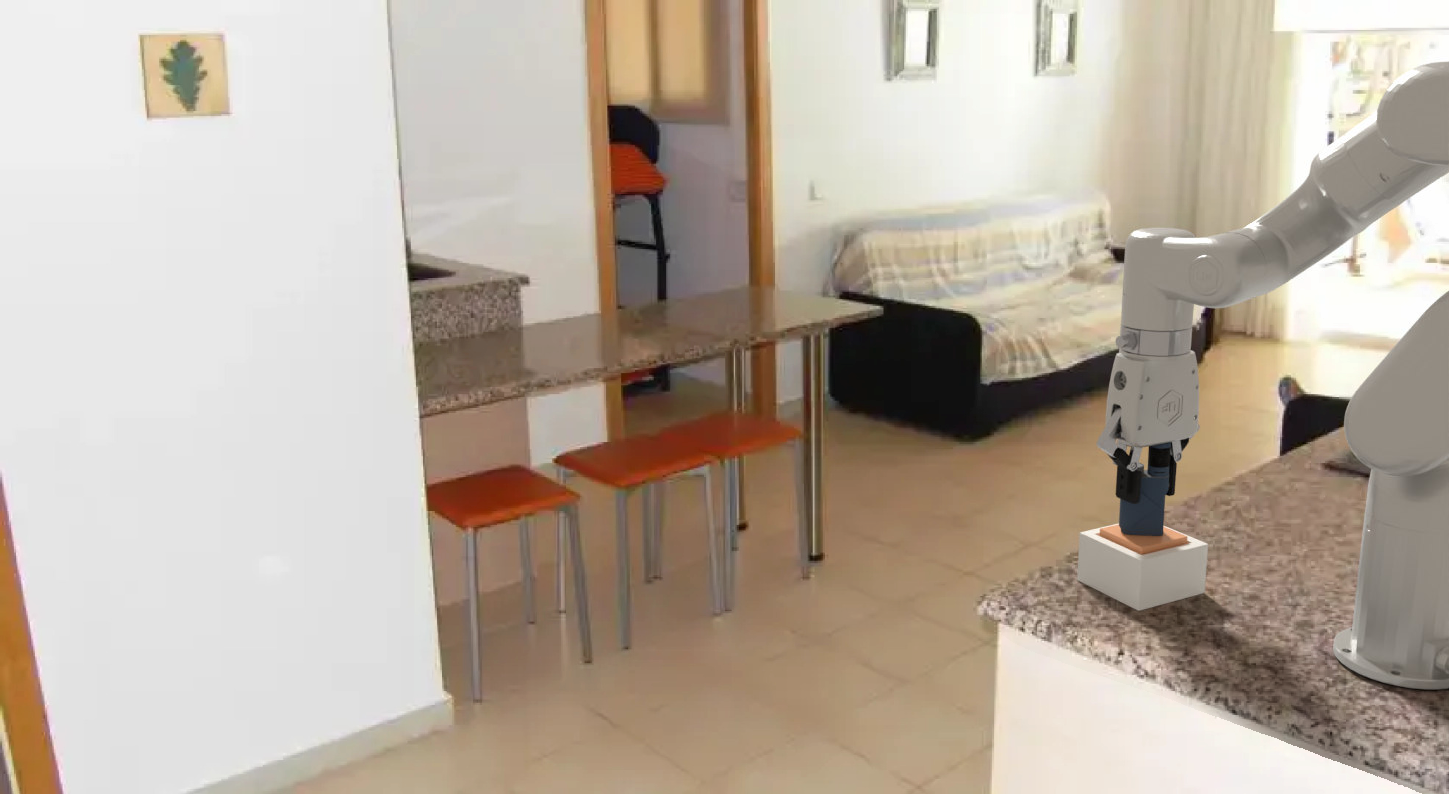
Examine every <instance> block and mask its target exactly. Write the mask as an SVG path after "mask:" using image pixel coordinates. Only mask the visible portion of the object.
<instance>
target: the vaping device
mask: <svg viewBox="0 0 1449 794" xmlns="http://www.w3.org/2000/svg"><path fill="white" fill-rule="evenodd" d="M1170 448H1171V442H1168V443H1163V444H1158V445H1153V446H1148V450H1147V451H1148V453H1147V456H1148V457H1147V469H1145V464H1144V463H1142V462H1139V463H1138V467H1137V469H1138V470H1141V489H1140V501H1139V503H1137V504H1132V503H1129V502H1127V501H1125V500H1122V499H1120V498H1119V515H1118V523H1119V526H1120V528H1121V532H1122V533H1124V534H1127V535H1146V536H1161V535H1163V533H1164V531H1163V526H1165V525H1164V521H1165V509H1166V507H1165V504H1166V496H1167V495H1166V493H1167V492H1168V488H1169V475H1170V474H1169V465H1170Z"/></svg>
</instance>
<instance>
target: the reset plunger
mask: <svg viewBox="0 0 1449 794" xmlns="http://www.w3.org/2000/svg"><path fill="white" fill-rule="evenodd" d="M1117 524H1118V523H1117ZM1113 525H1114V524H1113ZM1109 526H1110V525H1109ZM1104 527H1105V528H1101V527H1100V528H1101V529H1100V537H1103V538H1105V539H1107V540H1109V541H1111V542H1114V543H1116V544H1118V545H1120V546H1123V547H1125V548H1127V549H1129V550H1131V551H1134V552H1136V553H1138V554H1140V555H1145V554H1149V553H1153V552H1157V551H1161V550H1165V549H1169V548H1173V547H1177V546H1181V545H1185V544H1187V536H1185V535H1186V534H1185V535H1183V534H1184V533H1183V534H1180V533H1181V532H1180V533H1178V532H1179V531H1178V532H1176V531H1177V530H1176V531H1173V530H1174V529H1173V530H1171V529H1172V528H1171V529H1168V528H1169V527H1168V528H1166V527H1167V526H1166V527H1163V531H1164V533H1163V535H1161V536H1146V535H1127V534H1124V533H1122V532H1121V528H1120V526H1119V524H1118V525H1114V526H1110V527H1106V526H1104Z"/></svg>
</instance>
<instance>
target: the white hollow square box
mask: <svg viewBox="0 0 1449 794" xmlns="http://www.w3.org/2000/svg"><path fill="white" fill-rule="evenodd" d="M1118 524H1119V522H1118V523H1114V524H1111V525H1107V526H1102V527H1097V528H1093V529H1089V530H1085V531H1081V532H1080V531H1079V538H1078V539H1079V540H1078V557H1077V560H1078V562H1077V579H1076V580H1077V581H1079V582H1081V583H1082V584H1084V585H1086V586H1088V587H1090V588H1092V589H1095V590H1097V591H1099V592H1100V593H1102V594H1104V595H1106V596H1108V597H1110V598H1112V599H1114V600H1115V601H1118V602H1120V603H1122V604H1124V605H1126V606H1128V607H1130V608H1132V609H1134V610H1136V611H1137V612H1140V611H1143V610H1147V609H1151V608H1154V607H1158V606H1161V605H1165V604H1169V603H1172V602H1175V601H1180V600H1183V599H1187V598H1190V597H1195V596H1198V595H1202V594H1205V590H1206V577H1207V563H1208V551H1209V543H1206V542H1205V541H1202V540H1200V539H1197V538H1195V537H1193V536H1190V535H1187V534H1185V533H1182V532H1180V531H1177V530H1175V529H1173V528H1171V527H1168V526H1165V525H1163V527H1166V528H1168V529H1171V530H1173V531H1176V532H1178V533H1180V534H1183V535H1185V536H1187V544H1185V545H1181V546H1177V547H1173V548H1169V549H1165V550H1161V551H1157V552H1153V553H1149V554H1145V555H1140V554H1138V553H1136V552H1134V551H1131V550H1129V549H1127V548H1125V547H1123V546H1120V545H1118V544H1116V543H1114V542H1111V541H1109V540H1107V539H1105V538H1103V537H1100V529H1101V528H1105V527H1110V526H1114V525H1118Z"/></svg>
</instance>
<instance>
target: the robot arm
mask: <svg viewBox="0 0 1449 794" xmlns="http://www.w3.org/2000/svg"><path fill="white" fill-rule="evenodd" d="M1376 109H1377V110H1376V111H1374V112H1373V113H1372V114H1370V115H1369V116H1368V117H1366V118H1365V119H1364V120H1362V121H1361V122H1359V123H1358V124H1356V125H1355V126H1354V127H1352V128H1351V129H1350V130H1349V131H1347V132H1346V133H1344V134H1343V135H1341V136H1340V137H1339V138H1337V139H1335V140H1334V141H1333V142H1332V143H1330V144H1329V145H1327V146H1326V147H1324V148H1323V149H1321V150H1320V151H1319V152H1318V153H1317V154H1316V155H1315V156H1314V158H1313V159H1312V161H1311V164H1310V168H1309V173H1308V176H1307V177H1306V179H1305V180H1304V181H1303V182H1302V184H1301V185H1300V186H1298V188H1297V189H1296V190H1295V191H1293V192H1292V193H1291V194H1290V195H1289V196H1286V198H1285V199H1283V200H1282V201H1281V202H1279V203H1277V204H1276V205H1275V206H1274V207H1272V208H1271V209H1270V210H1268V211H1267V212H1265V213H1264V214H1262V215H1261V216H1260V217H1259V218H1256V219H1255V220H1254V221H1252V222H1251V223H1249V224H1248V225H1246V226H1245V227H1242V228H1238V229H1234V230H1230V231H1227V232H1223V233H1218V234H1214V235H1210V236H1203V237H1196V236H1195V234H1194V233H1192V232H1191V231H1190V230H1187V229H1183V228H1173V227H1148V228H1139V229H1137V230H1136V229H1135V230H1133V232H1131V233H1130V234H1129V235H1128V236H1127V238H1126V242H1125V248H1124V261H1123V262H1124V263H1123V281H1122V296H1121V313H1120V314H1121V316H1120V332H1119V335H1118V336H1117V337H1116V338H1115V345H1116V347H1117V348H1118V352H1117V353H1116V355H1115V358H1114V361H1113V365H1112V369H1111V374H1110V380H1109V385H1108V390H1107V391H1108V393H1107V398H1106V410H1105V427H1104V428H1103V430H1102V432H1101V434H1100V435H1099V437H1098V439H1097V440H1096V446H1097V448H1098V449H1100V450H1102V451H1103V452H1104V453H1106V454H1107V456H1108V458H1109V459H1111V460H1112V464H1113V465H1115V466H1116V478H1115V479H1116V481H1115V482H1116V483H1115V497H1116V498H1118V499H1119V500H1120V499H1122V500H1125V501H1127V502H1129V503H1132V504H1137V503H1139V501H1140V489H1141V470H1138V469H1137V467H1138V463H1140V460H1141V455H1142V451H1143V448H1145V447H1147V448H1149V446H1153V445H1158V444H1163V443H1168V442H1171V448H1170V465H1169V474H1170V475H1169V488H1168V492H1167V493H1166V496H1168V497H1171V496H1174V495H1175V493H1176V492H1175V491H1176V480H1177V466H1178V464H1177V463H1178V462H1181V460H1182V458H1183V451H1184V450H1185V448H1186V447H1187V446H1188V444H1189V442H1190V440H1191V439H1192V438H1193V437H1194V436H1195V435H1196V434H1197V433H1198V432H1199V430H1200V428H1201V427H1200V423H1199V415H1200V382H1199V381H1200V380H1199V368H1198V361H1197V356H1196V352H1195V351H1194V350H1191V347H1192V336H1193V335H1192V334H1193V324H1194V323H1193V321H1194V310H1195V309H1194V308H1195V306H1199V307H1203V308H1207V309H1208V308H1209V309H1223V308H1228V307H1233V306H1235V305H1238V304H1241V303H1245V302H1246V301H1248V300H1251V299H1254V298H1256V297H1260V296H1263V295H1267V294H1269V293H1271V292H1273V291H1275V290H1276V289H1279V288H1280V287H1282V286H1284V285H1285V284H1286V283H1288V282H1290V281H1292V280H1293V279H1294V278H1296V277H1298V276H1299V275H1300V274H1302V273H1303V272H1305V271H1306V270H1308V269H1309V268H1312V267H1313V266H1314V265H1316V264H1317V263H1319V262H1320V261H1321V260H1323V259H1325V258H1326V257H1328V256H1329V255H1330V254H1332V253H1333V252H1334V251H1336V250H1337V249H1339V248H1340V247H1342V246H1343V245H1344V244H1346V243H1347V242H1348V241H1349V240H1351V239H1352V238H1354V237H1356V236H1357V235H1359V234H1361V233H1362V232H1365V230H1366V229H1367V228H1368V227H1369V226H1371V225H1372V224H1373V223H1375V222H1377V221H1378V220H1379V219H1381V218H1382V217H1384V216H1385V215H1387V214H1388V213H1390V212H1391V211H1392V210H1394V209H1396V208H1397V207H1399V206H1400V205H1402V204H1403V203H1404V202H1405V201H1407V200H1409V199H1410V198H1412V197H1414V196H1415V195H1417V194H1418V193H1420V192H1421V191H1422V190H1424V189H1425V188H1427V187H1428V186H1430V185H1432V184H1433V183H1434V182H1436V181H1437V180H1439V179H1440V178H1442V177H1444V176H1446V175H1447V174H1449V61H1440V62H1439V61H1435V62H1429V63H1425V64H1421V65H1419V66H1417V67H1415V68H1412V69H1410V70H1408V71H1406V72H1404V73H1402V75H1399V77H1397V79H1395V80H1394V81H1393V82H1392V83H1391V84H1390V86H1389V87H1388V88H1387V89H1386V90H1385V92H1384V93H1383V95H1382V97H1381V99H1380V102H1379V104H1378V106H1377V108H1376ZM1194 305H1195V306H1194ZM1343 420H1344V421H1343V427H1344V428H1343V430H1344V435H1345V439H1346V441H1347V444H1348V446H1349V448H1350V451H1351V453H1353V455H1354V456H1355V457H1356V458H1357V460H1358V461H1360V463H1362V464H1363V465H1364V466H1366V467H1367V468H1369V469H1371V470H1370V474H1369V478H1368V479H1369V480H1368V485H1367V494H1366V502H1365V508H1364V514H1363V515H1364V516H1363V525H1362V532H1361V533H1362V535H1361V544H1360V551H1359V561H1358V571H1357V580H1356V588H1355V600H1354V606H1353V607H1354V608H1353V616H1352V617H1353V618H1352V626H1351V627H1347V628H1345V629H1342V630H1341V631H1340V632H1338V633H1336V635H1335V637H1334V639H1333V646H1332V649H1333V650H1332V651H1333V654H1334V655H1335V658H1336V659H1337V660H1338V661H1339V662H1340V663H1341V664H1342V665H1344V666H1345V667H1346V668H1348V669H1349V670H1351V671H1353V672H1355V673H1356V674H1359V675H1360V676H1363V677H1366V678H1368V679H1371V680H1374V681H1377V682H1380V683H1383V684H1387V685H1392V686H1396V687H1400V688H1408V689H1415V690H1416V689H1417V690H1445V689H1449V290H1448V291H1446V292H1444V293H1443V294H1442V295H1441V296H1440V297H1439V298H1437V300H1435V301H1434V302H1433V303H1432V304H1431V305H1430V306H1429V307H1428V308H1427V309H1426V310H1425V311H1424V312H1423V313H1422V314H1421V315H1420V317H1419V318H1418V319H1417V320H1416V321H1415V322H1414V323H1413V324H1412V325H1411V327H1410V328H1409V329H1408V331H1407V332H1406V333H1405V334H1404V335H1403V336H1402V338H1400V339H1399V340H1398V342H1396V344H1395V346H1393V347H1392V349H1390V350H1389V352H1388V353H1387V354H1386V355H1385V356H1384V358H1383V359H1381V362H1379V364H1378V365H1377V366H1376V367H1375V368H1374V369H1373V371H1372V372H1371V373H1370V374H1369V375H1368V376H1367V377H1366V378H1365V380H1364V381H1363V382H1362V383H1361V384H1360V386H1358V388H1357V389H1356V390H1355V391H1354V394H1352V396H1351V398H1350V400H1349V402H1348V405H1347V406H1346V410H1345V413H1344V418H1343ZM1128 447H1129V448H1130V450H1129V453H1127V449H1128Z"/></svg>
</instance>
